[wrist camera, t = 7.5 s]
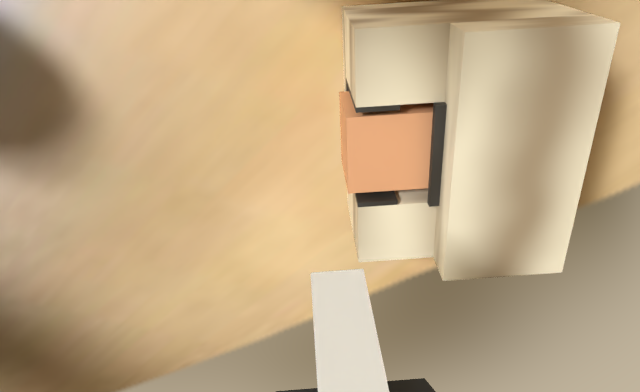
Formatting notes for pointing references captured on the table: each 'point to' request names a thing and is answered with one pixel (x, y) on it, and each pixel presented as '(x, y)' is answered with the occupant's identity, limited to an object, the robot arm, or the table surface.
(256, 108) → the table surface
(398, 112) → the peg
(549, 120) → the sleeve
